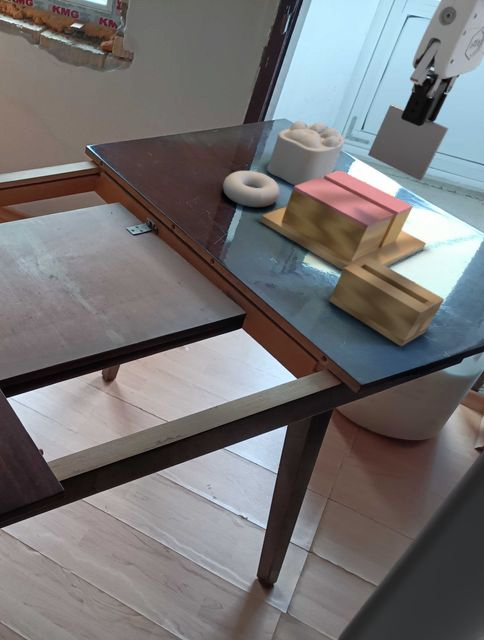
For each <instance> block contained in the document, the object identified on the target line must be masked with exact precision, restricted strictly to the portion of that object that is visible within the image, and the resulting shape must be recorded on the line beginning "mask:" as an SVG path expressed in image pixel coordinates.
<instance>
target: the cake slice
mask: <svg viewBox="0 0 484 640" xmlns="http://www.w3.org/2000/svg"><path fill="white" fill-rule="evenodd" d="M324 179H325V180H327V181H329V182H331V183H333V184H335V185H337V186H339V187H341V188H343V189H345V190H347V191H349V192H351V193H353V194H355V195H357V196H359V197H361V198H363V199H365V200H367V201H368V202H370V203H372V204H374V205H376V206H378V207H380V208H382V209H384V210H386V211H388V212H390V213H392V214H394V215H393V217H392V219H391V221H390V223H389V225H388V227H387V230H386V232H385V234H384V236H383V238H382V240H381V242H380V244H379V247H381V248H382V247H384V246H386V245H388V244H390V243H392V242H395V241H396V239H397V237H398V235H399V233H400V231H401V230H402V229H403V228H404V225H405V224H406V221H407V219H408V218H409V215H410V213H411V211H412V209H413V207H414V206H413V205H412V204H410V203H408V202H406V201H403V200H402V199H401V198H400V199H399V198H397V197H396V196H394V195H391V194H390V193H387V192H385V191H384V190H381V189H380V188H377V187H375V186H373V185H371V184H370V183H367V182H365V181H363V180H361V179H360V178H357V177H355V176H353V175H351V174H349V173H346V172H344V171H342V170H341V169H340V170H336V171H333V172H332V173H330V174H327V175H325V176H324Z"/></svg>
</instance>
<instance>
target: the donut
mask: <svg viewBox="0 0 484 640" xmlns="http://www.w3.org/2000/svg"><path fill="white" fill-rule="evenodd" d="M222 188H223V192H224V194H225V195H226V196H227V198H228V199H230V200H231V201H233V202H234V203H236V204H239V205H241V206H245V207H249V208H266V207H268V206H271V205H272V204H274V203H275V202H276V201H277V200H278V198H279V195H280V191H281V190H280V187H279V185H278V182H276V181H275V180H274V179H273V178H272V177H270V176H268V175H267V174H264V173H261V172H259V171H255V170H238V171H237V170H236V171H234V172H232V173H230V174H229V175H227V176H226V177H225V179H224V181H223V184H222Z"/></svg>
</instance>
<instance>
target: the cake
mask: <svg viewBox="0 0 484 640" xmlns="http://www.w3.org/2000/svg"><path fill="white" fill-rule="evenodd" d="M393 215H394V214H392V213H390V212H388V211H386V210H384V209H382V208H380V207H378V206H376V205H374V204H372V203H370V202H368V201H367V200H365V199H363V198H361V197H359V196H357V195H355V194H353V193H351V192H349V191H347V190H345V189H343V188H341V187H339V186H337V185H335V184H333V183H331V182H329V181H327V180H325V179H323V178H321V177H319V178H316V179H313V180H310V181H307V182H304V183H302V184H299V185H294V186H293V188H292V191H291V193H290V196H289V199H288V202H287V205H286V206H284V207H280V208H278V209H275V210H273V211H270V212H267V213H265V214H262V215H261V217H260V221H259V222H260V223H262V224H263V225H265V226H267V227H268V228H270V229H272V230H273V231H275V232H277V233H279V234H280V235H282V236H284V237H286V238H287V239H288V240H291V241H293V242H295V243H296V244H297V245H298V246H300V247H303V248H304V249H305V250H307V251H310V252H311V253H313V254H315V255H316V256H318V257H319V258H321V259H323V260H325V261H326V262H328V263H330V264H331V265H333V266H334V267H336V268H338V269H340V270H341V271H343V269H344V268H345V267H347V266H349V265H351V264H353V263H356V262H358V261H360V260H362V259H364V258H366V257H370V258H372V259H374V260H376V261H377V262H379V263H381V264H383V265H385V266H386V267H389V266H391V265H394V264H395V263H397V262H399V261H402V260H403V259H405V258H408V257H410V256H412V255H414V254H416V253H418V252H420V251H422V250H424V248H425V246H426V244H427V242H425V241H423V240H421V239H419V238H417V237H415V236H413V235H411V234H409V233H407V232H406V231H404V230H402V229H401V231H400V233H399V235H398V237H397V239H396V241H395V242H392V243H390V244H388V245H386V246H384V247H382V248H381V247H379V244H380V242H381V240H382V238H383V236H384V234H385V232H386V230H387V227H388V225H389V223H390V221H391V219H392V217H393Z"/></svg>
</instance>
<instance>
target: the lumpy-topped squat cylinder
mask: <svg viewBox="0 0 484 640" xmlns="http://www.w3.org/2000/svg"><path fill="white" fill-rule="evenodd" d="M344 142H345V139H344V136H343V135H342V133H340V132H339V131H338V129H336V128H335V127H329V126H326V125H325V124H324V123H322V122H317V123H314V124H308V123H305V122H303V121H301V120H299V121H298V120H297V121H295V122H293V123H292V125H290V127H287V128H285V129H283V130H281V131H279V132H278V135H277V138H276V140H275V144H274V146H273V149H272V152H271V157H270V159H269V162H268V165H267V169H266V170H267V172H268V173H270V174H271V175H273V176H275V177H278V178H281V179H282V180H284V181H286V182H287V183H289V184H290V185H292V186H293V185H294V186H296V185H299V184H302V183H304V182H307V181H310V180H313V179H316V178H319V177H321V178H323V179H324V176H325V175H327V174H330V173H333V172H334V169H335V167H336V164H337V161H338V159H339V157H340V154H341V151H342V149H343V147H344Z"/></svg>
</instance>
